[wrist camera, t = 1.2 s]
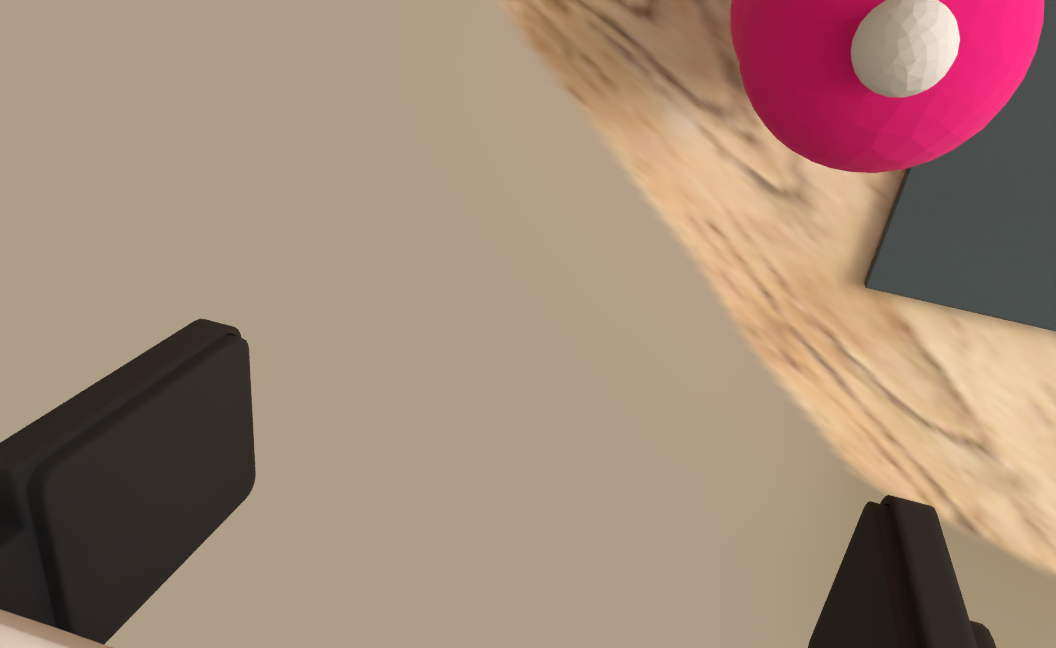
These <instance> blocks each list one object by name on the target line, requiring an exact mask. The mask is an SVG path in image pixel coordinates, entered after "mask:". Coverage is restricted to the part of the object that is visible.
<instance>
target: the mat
mask: <svg viewBox="0 0 1056 648" xmlns="http://www.w3.org/2000/svg"><path fill="white" fill-rule="evenodd" d="M864 284H865V287H866V288H870V289H874V290H879V291H883V292H888V293H892V294H896V295H901V296H905V297H909V298H914V299H918V300H922V301H927V302H931V303H935V304H940V305H944V306H948V307H953V308H957V309H962V310H966V311H970V312H975V313H979V314H983V315H988V316H992V317H996V318H1001V319H1005V320H1009V321H1014V322H1018V323H1022V324H1027V325H1031V326H1036V327H1040V328H1044V329H1049V330H1053V331H1056V0H1044V20H1043V25H1042V29H1041V34H1040V38H1039V42H1038V46H1037V50H1036V53H1035V55H1034V57H1033V59H1032V62H1031V64H1030V66H1029V68H1028V70H1027V73H1026V75H1025V77H1024V79H1023V81H1022V82H1021V83H1020V85H1019V86H1018V88H1017V89H1016V91H1015V92H1014V94H1013V95H1012V96H1011V98H1010V99H1009V101H1008V102H1007V103H1006V104H1005V106H1004V107H1003V108H1002V109H1001V110H1000V111H999V112H998V113H997V114H996V115H995V116H994V117H993V118H992V120H991V121H990V122H989V123H988V124H987V125H986V126H985V127H984V128H983V129H982V130H981V131H979V132H978V133H976V134H975V135H974V136H972V137H971V138H969V139H968V140H966V141H965V142H964V143H962V144H961V145H959V146H958V147H957V148H955V149H954V150H952V151H950V152H948V153H946V154H944V155H942V156H940V157H938V158H935V159H933V160H931V161H929V162H926V163H922V164H919V165H916V166H913V167H910V168H907V171H906V174H905V176H904V179H903V182H902V184H901V187H900V190H899V192H898V195H897V198H896V200H895V203H894V206H893V208H892V211H891V214H890V216H889V219H888V222H887V224H886V227H885V230H884V232H883V235H882V238H881V240H880V243H879V246H878V248H877V251H876V254H875V256H874V259H873V262H872V264H871V267H870V270H869V272H868V275H867V278H866V280H865V283H864Z"/></svg>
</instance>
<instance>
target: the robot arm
mask: <svg viewBox="0 0 1056 648" xmlns="http://www.w3.org/2000/svg"><path fill="white" fill-rule="evenodd" d="M254 481H255V456H254V438H253V417H252V398H251V380H250V361H249V347H248V343H247V341H246V340H244V339H243V338H241V334H240V332H239V330H238V329H237V328H235V327H232V326H229V325H225V324H221V323H217V322H213V321H210V320H206V319H199V320H196V321H194V322H192V323H190V324H189V325H187V326H186V327H184V328H183V329H181V330H179V331H178V332H176V333H175V334H173V335H171V336H170V337H168V338H167V339H165V340H163V341H162V342H160V343H159V344H157V345H156V346H154V347H152V348H151V349H149V350H147V351H146V352H144V353H143V354H141V355H140V356H138V357H137V358H135V359H133V360H131V361H130V362H128V363H127V364H125V365H124V366H122V367H120V368H119V369H117V370H116V371H114V372H112V373H111V374H109V375H108V376H106V377H104V378H103V379H101V380H100V381H98V382H96V383H95V384H93V385H92V386H90V387H88V388H87V389H85V390H84V391H82V392H80V393H79V394H77V395H76V396H74V397H73V398H71V399H69V400H68V401H66V402H65V403H63V404H62V405H60V406H58V407H57V408H55V409H53V410H52V411H50V412H49V413H47V414H45V415H44V416H42V417H41V418H39V419H37V420H36V421H34V422H33V423H31V424H29V425H28V426H26V427H25V428H23V429H21V430H20V431H18V432H17V433H15V434H13V435H12V436H10V437H9V438H7V439H6V440H4V441H2V442H1V443H0V648H111V647H109V646H106V645H104V644H105V643H106V642H107V641H108V640H109V639H110V638H111V637H112V636H113V635H114V634H115V633H116V632H117V631H118V630H119V629H120V627H122V625H123V624H124V623H125V622H126V621H127V620H128V619H129V618H130V617H131V616H132V615H133V614H134V613H135V612H136V611H137V610H138V609H139V608H140V607H141V606H142V605H143V604H144V603H145V602H146V601H147V600H148V599H149V598H150V597H151V596H152V595H153V594H154V593H155V591H157V590H158V588H159V587H160V586H161V585H162V584H163V583H164V582H165V581H166V580H167V579H168V578H169V577H170V576H171V575H172V574H173V573H174V572H175V571H176V570H177V569H178V568H179V567H180V566H181V565H182V564H183V563H184V562H185V561H186V560H187V559H188V558H189V556H191V555H192V553H193V552H194V551H195V550H196V549H197V548H198V547H199V546H200V545H201V544H202V543H203V542H204V541H205V540H206V539H207V538H208V537H209V536H210V535H211V534H212V533H213V532H214V531H215V530H216V529H217V528H218V527H219V526H220V525H221V524H222V523H223V521H224V520H226V519H227V517H228V516H229V515H230V514H231V513H232V512H233V511H234V510H235V509H236V508H237V507H238V506H239V505H240V504H241V503H242V502H243V501H244V500H245V499H246V498H247V496H248V495H249V494H250V492H251V490H252V488H253V485H254ZM808 648H996V646H995V643H994V640H993V638H992V636H991V634H990V632H989V630H988V629H987V628H986V627H985V626H984V625H983V624H980V623H977V622H973V621H970V620H969V617H968V614H967V611H966V608H965V604H964V601H963V598H962V594H961V591H960V588H959V585H958V581H957V578H956V575H955V572H954V568H953V565H952V562H951V558H950V555H949V552H948V549H947V546H946V542H945V539H944V536H943V532H942V529H941V526H940V522H939V519H938V516H937V513H936V511H935V509H934V508H933V507H932V506H929V505H925V504H921V503H918V502H914V501H910V500H906V499H902V498H898V497H894V496H890V495H888V496H885V498H884V499H883V500H882V501H881V503H880V504H878V503H874V502H868V503H867V504H866V505H865V507H864V509H863V511H862V514H861V516H860V519H859V521H858V524H857V526H856V528H855V531H854V534H853V536H852V538H851V541H850V543H849V546H848V548H847V551H846V553H845V555H844V558H843V560H842V563H841V565H840V568H839V570H838V573H837V575H836V578H835V580H834V583H833V585H832V587H831V590H830V592H829V595H828V597H827V600H826V602H825V604H824V607H823V609H822V612H821V615H820V617H819V619H818V622H817V624H816V627H815V629H814V631H813V634H812V636H811V639H810V642H809V646H808Z"/></svg>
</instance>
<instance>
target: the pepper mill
mask: <svg viewBox="0 0 1056 648" xmlns="http://www.w3.org/2000/svg"><path fill="white" fill-rule="evenodd" d="M1043 20H1044V0H732V6H731V33H732V40H733V45H734V48H735V51H736V54H737V57H738V60H739V63H740V72H741V75H742V79H743V83H744V87H745V91H746V93H747V95H748V97H749V99H750V102H751V104H752V106H753V108H754V110H755V111H756V113H757V114H758V116H759V117H760V119H761V120H762V122H763V123H764V125H765V126H766V127H767V128H768V129H769V130H770V131H771V133H772V134H773V135H774V136H775V137H776V138H777V139H778V140H779V141H781V142H782V143H783V144H784V145H786V146H787V147H788V148H789V149H791V150H792V151H794V152H796V153H798V154H799V155H801V156H803V157H805V158H807V159H809V160H810V161H812V162H815V163H818V164H821V165H824V166H827V167H829V168H833V169H839V170H844V171H850V172H867V173H878V172H886V171H894V170H902V169H906V168H910V167H913V166H916V165H919V164H922V163H926V162H929V161H931V160H933V159H935V158H938V157H940V156H942V155H944V154H946V153H948V152H950V151H952V150H954V149H955V148H957V147H958V146H959V145H961V144H962V143H964V142H965V141H966V140H968V139H969V138H971V137H972V136H974V135H975V134H976V133H978V132H979V131H981V130H982V129H983V128H984V127H985V126H986V125H987V124H988V123H989V122H990V121H991V120H992V118H993V117H994V116H995V115H996V114H997V113H998V112H999V111H1000V110H1001V109H1002V108H1003V107H1004V106H1005V104H1006V103H1007V102H1008V101H1009V99H1010V98H1011V96H1012V95H1013V94H1014V92H1015V91H1016V89H1017V88H1018V86H1019V85H1020V83H1021V82H1022V81H1023V79H1024V77H1025V75H1026V73H1027V70H1028V68H1029V66H1030V64H1031V62H1032V59H1033V57H1034V55H1035V53H1036V50H1037V46H1038V42H1039V38H1040V34H1041V29H1042V25H1043Z"/></svg>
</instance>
